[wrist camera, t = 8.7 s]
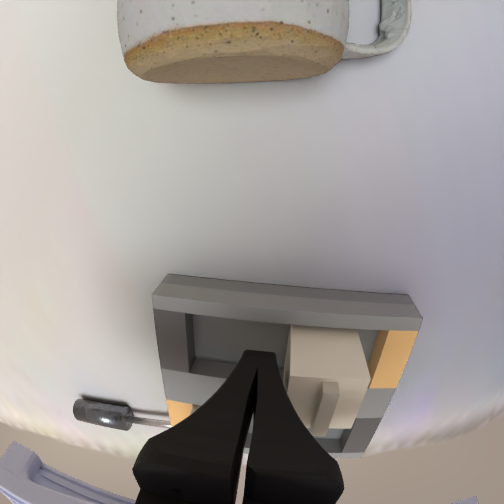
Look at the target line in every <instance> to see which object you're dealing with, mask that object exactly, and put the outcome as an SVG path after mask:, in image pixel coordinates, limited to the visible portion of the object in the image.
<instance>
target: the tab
mask: <svg viewBox="0 0 504 504" xmlns="http://www.w3.org/2000/svg"><path fill="white" fill-rule="evenodd" d="M370 380H371V378H370V374H369V370H368V367H367V363H366V359H365V355H364V352H363V348H362V345H361V341H360V338H359V334H358V331H357V329H348V328H332V327H317V326H303V325H291V324H290V328H289V336H288V343H287V350H286V356H285V363H284V379H283V385H284V387H285V390H286V392H287V395H288V397H289V399H290V401H291V403H292V405H293V407H294V409H295V411H296V412H297V414H298V416H299V417H300V419H301V420H302V422H303V424H304V425H305V427H306V428H310V429H311V434H312V436H326V433H327V430H328V428H334V429H351V428H352V425H353V423H354V421H355V418H356V416H357V413H358V411H359V409H360V406H361V404H362V401H363V399H364V396H365V393H366V391H367V388H368V385H369V383H370Z"/></svg>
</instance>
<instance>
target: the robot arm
mask: <svg viewBox="0 0 504 504" xmlns="http://www.w3.org/2000/svg"><path fill="white" fill-rule="evenodd" d="M252 416H253V432H252V438H251V444H250V449H249V455H248V460H247V467H246V479H245V488H244V497H243V503H242V504H335V503H336V501H337V500H338V499H339V497H340V496H341V494H342V493H343V490H344V482H343V478H342V474H341V471H340V468H339V465H338V463H337V461H336V460H335V459H334V458H333V457H331V456H330V455H329V454H328V453H327V452H326V451H325V450H324V449H323V447H322V446H321V445H320V444H319V443H318V442H317V441H316V440H315V438H314V437H313V436H312V434H311V433H310V432H309V430H308V429H307V428H306V427H305V425H304V424H303V422H302V420H301V419H300V417H299V416H298V414H297V412H296V411H295V409H294V407H293V405H292V403H291V401H290V399H289V397H288V395H287V392H286V390H285V387H284V385H283V382H282V379H281V376H280V373H279V369H278V365H277V359H276V354H275V353H274V352H267V351H257V350H245V351H244V352H243V355H242V357H241V359H240V360H239V362H238V364H237V365H236V367H235V368H234V370H233V371H232V372H231V374H230V375H229V377H228V378H227V379H226V381H225V382H224V383H223V384H222V385H221V386H220V388H219V389H218V390H217V391H216V392H215V393H214V394H213V395H212V396H211V397H210V398H209V399H208V400H207V401H206V402H205V403H204V404H203V405H202V406H201V407H199V408H198V409H197V410H196V411H195V412H193V413H192V414H191V415H189V416H188V417H187V418H185V419H184V420H182V421H181V422H179V423H178V424H176V425H174V426H173V427H171V428H169V429H168V430H166V431H164V432H162V433H160V434H158V435H156V436H154V437H152V438H150V439H149V440H148V441H147V442H146V444H145V445H144V446H143V448H142V450H141V451H140V453H139V455H138V457H137V459H136V462H135V464H134V467H133V469H132V470H133V474H134V476H135V478H136V480H137V482H138V485H139V487H140V488H141V489H140V492H139V494H138V497H137V500H136V501H135V500H132V499H129V498H126V497H123V496H120V495H117V494H114V493H111V492H109V491H106V490H103V489H100V488H98V487H95V486H93V485H90V484H88V483H85V482H83V481H81V480H78V479H76V478H74V477H71V476H69V475H67V474H65V473H62V472H60V471H58V470H56V469H54V468H52V467H50V466H48V465H46V464H44V463H42V461H41V459H40V458H39V456H38V455H37V454H36V453H35V452H33V451H32V450H30V449H29V448H27V447H25V446H23V445H21V444H19V443H18V442H16V441H13V442H12V443H11V445H10V446H9V447H8V449H7V450H6V452H5V453H4V455H3V456H2V457H1V459H0V491H1V492H2V493H3V494H4V495H5V496H6V497H7V498H8V499H9V500H10V501H11V502H12V503H14V504H235V501H236V495H237V489H238V482H239V476H240V469H241V463H242V457H243V451H244V447H245V442H246V439H247V435H248V431H249V427H250V423H251V420H252ZM451 504H478V500H477V497H475V496H474V497H471V498H467V499H463V500H460V501H456V502H453V503H451Z"/></svg>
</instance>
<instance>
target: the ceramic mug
mask: <svg viewBox="0 0 504 504" xmlns="http://www.w3.org/2000/svg"><path fill="white" fill-rule="evenodd" d="M117 22H118V33H119V39H120V43H121V48H122V52H123V57H124V61H125V63H126V65H127V67H128V69H129V70H130V71H131V72H132V73H133V74H135V75H136V76H138V77H140V78H141V79H143V80H147V81H152V82H158V83H231V82H255V81H273V80H288V79H299V78H307V77H312V76H317V75H321V74H324V73H326V72H327V71H329V70H330V69H332V68H333V67H334V66H335V65H336V64H337V63H338V62H339V61H340V60H341V59H350V58H364V57H370V56H375V55H380V54H384V53H387V52H389V51H392V50H394V49H395V48H396V47H397V46H398V45H400V44H401V43H402V41H403V40H404V39H405V37H406V36H407V34H408V31H409V27H410V22H411V2H410V0H382V15H381V22H380V24H379V32H380V36H379V38H378V39H377V40H376V41H375V42H374V43H372V44H370V45H357V44H354V43H346V39H347V33H348V28H349V0H118V1H117Z"/></svg>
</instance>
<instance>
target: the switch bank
mask: <svg viewBox="0 0 504 504" xmlns="http://www.w3.org/2000/svg"><path fill="white" fill-rule="evenodd" d="M152 301H153V311H154V320H155V328H156V336H157V344H158V351H159V358H160V365H161V372H162V378H163V384H164V390H165V396H166V402H167V407H168V413H169V418H170V423H171V427H173V426H174V425H176V424H178V423H179V422H181V421H182V420H184V419H185V418H187V417H188V416H189V415H190V414H191V411H192V408H193V405H199V406H202V405H203V404H204V403H205V402H206V401H207V400H208V399H209V398H210V397H211V396H212V395H213V394H214V393H215V392H216V391H217V390H218V389H219V388H220V386H221V385H222V384H223V383H224V382H225V381H226V379H227V378H228V377H229V375H230V374H231V372H232V371H233V370H234V368H235V367H236V365H237V364H238V362H239V360H240V359H241V357H242V355H243V352H244V351H245V350H257V351H267V352H274V353H275V354H276V359H277V365H278V369H279V373H280V376H281V379H282V382H283V379H284V363H285V356H286V350H287V343H288V336H289V328H290V324H291V325H303V326H317V327H332V328H348V329H357V331H358V334H359V338H360V341H361V345H362V348H363V352H364V355H365V359H366V363H367V367H368V370H369V374H370V378H371V380H370V383H369V385H368V388H367V391H366V393H365V396H364V399H363V401H362V404H361V406H360V409H359V411H358V413H357V416H356V418H355V421H354V423H353V425H352V428H351V429H334V428H328V430H327V433H326V436H313V437H314V438H315V440H316V441H317V442H318V443H319V444H320V445H321V446H322V447H323V449H324V450H325V451H326V452H327V453H328V454H329V455H330V456H331V457H333V458H334V459H343V458H361V457H362V455H363V454H364V452H365V450H366V448H367V446H368V445H369V443H370V441H371V439H372V437H373V435H374V433H375V431H376V429H377V427H378V425H379V423H380V421H381V419H382V417H383V415H384V413H385V411H386V409H387V407H388V405H389V402H390V400H391V398H392V396H393V394H394V391H395V389H396V387H397V385H398V382H399V380H400V378H401V375H402V373H403V370H404V368H405V365H406V363H407V360H408V358H409V355H410V353H411V350H412V347H413V345H414V342H415V339H416V336H417V334H418V331H419V328H420V325H421V322H422V319H423V317H422V316H421V314H420V313H419V311H418V309H417V308H416V306H415V305H414V303H413V301H412V300H411V298H410V297H409V295H402V294H386V293H371V292H357V291H344V290H331V289H318V288H306V287H294V286H283V285H272V284H261V283H251V282H240V281H230V280H220V279H211V278H201V277H192V276H183V275H174V274H168V275H167V276H166V277H165V279H164V280H163V281H162V282H161V284H160V285H159V286H158V287H157V289H156V290H155V291H154V293H153V294H152ZM307 429H308V430H309V432H310V433H311V429H310V428H307ZM252 432H253V416H252V420H251V423H250V427H249V431H248V435H247V439H246V442H245V447H244V453H246V454H249V449H250V444H251V438H252Z"/></svg>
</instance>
